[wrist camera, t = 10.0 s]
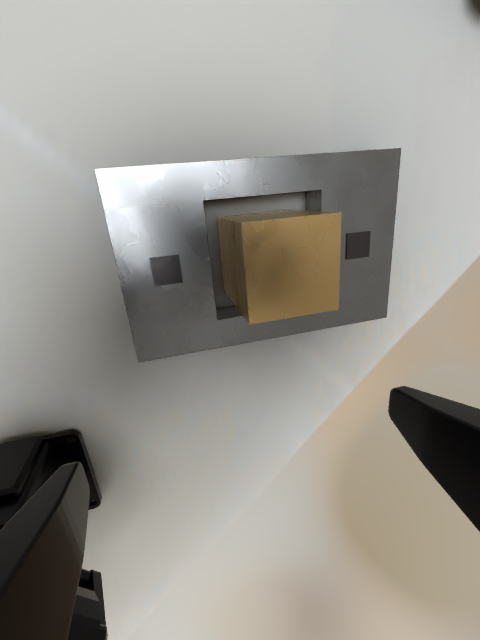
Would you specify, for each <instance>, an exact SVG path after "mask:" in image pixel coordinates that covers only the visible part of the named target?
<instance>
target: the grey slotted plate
mask: <svg viewBox="0 0 480 640" xmlns="http://www.w3.org/2000/svg"><path fill="white" fill-rule="evenodd" d="M400 156H401V148H397V149H382V150H367V151H352V152H337V153H322V154H308V155H293V156H278V157H263V158H248V159H234V160H219V161H204V162H189V163H174V164H159V165H145V166H130V167H115V168H100V169H95V172H96V177H97V181H98V186H99V190H100V194H101V199H102V203H103V208H104V212H105V217H106V221H107V225H108V230H109V234H110V239H111V243H112V247H113V252H114V256H115V261H116V265H117V270H118V274H119V278H120V283H121V287H122V292H123V296H124V301H125V305H126V309H127V314H128V318H129V323H130V327H131V332H132V336H133V340H134V345H135V349H136V354H137V358H138V362H144V361H149V360H155V359H160V358H166V357H171V356H177V355H182V354H188V353H193V352H199V351H204V350H210V349H215V348H221V347H226V346H232V345H237V344H243V343H248V342H254V341H259V340H265V339H270V338H276V337H281V336H287V335H292V334H298V333H303V332H309V331H314V330H320V329H325V328H331V327H336V326H342V325H347V324H353V323H358V322H364V321H369V320H375V319H380V318H386V317H387V305H388V294H389V282H390V271H391V259H392V248H393V236H394V225H395V213H396V202H397V190H398V179H399V167H400ZM301 191H306V211H327V212H342V216H341V250H340V284H339V310H333V311H327V312H322V313H316V314H310V315H304V316H298V317H292V318H286V319H280V320H274V321H268V322H263V323H257V324H251V325H249V323H248V322H247V321H246V319H245V318H244V317H243V315H242V314H241V313H240V312H239V310H238V309H237V308H236V306H233V307H226V308H220V309H216V306H215V298H214V289H213V281H212V273H211V264H210V256H209V247H208V239H207V230H206V222H205V214H204V205H203V200H213V199H224V198H235V197H246V196H257V195H268V194H279V193H290V192H301Z"/></svg>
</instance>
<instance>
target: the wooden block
mask: <svg viewBox="0 0 480 640" xmlns="http://www.w3.org/2000/svg"><path fill="white" fill-rule="evenodd" d="M341 216H342V212H327V211H303V210H284V211H275V212H265V213H255V214H245V215H235V216H225V217H217V223H218V232H219V242H220V252H221V261H222V271H223V280H224V290H225V293H226V294H227V296H228V297H229V298H230V300H231V301H232V302H233V304H234V305H235V306H236V308H237V309H238V310H239V312H240V313H241V314H242V315H243V317H244V318H245V319H246V321H247V322H248V323H249V325H251V324H257V323H263V322H268V321H274V320H280V319H286V318H292V317H298V316H304V315H310V314H316V313H322V312H327V311H333V310H339V284H340V250H341Z"/></svg>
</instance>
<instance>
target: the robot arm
mask: <svg viewBox="0 0 480 640" xmlns="http://www.w3.org/2000/svg"><path fill="white" fill-rule="evenodd" d="M388 412H389V416H390V418H391V420H392V421H393V423H394V424H395V425H396V427H397V428H398V430H399V431H400V432H401V434H402V435H403V437H404V438H405V440H406V441H407V443H408V444H409V445H410V447H411V448H412V450H413V451H414V453H415V454H416V456H417V457H418V458H419V460H420V461H421V462H422V463H423V465H424V466H425V467H426V468H427V470H428V471H429V472H430V473H431V474H432V476H433V477H434V478H435V479H436V480H437V482H438V483H439V484H440V485H441V486H442V487H443V489H444V490H445V491H446V492H447V493H448V495H449V496H450V497H451V498H452V499H453V501H454V502H455V503H456V504H457V505H458V507H459V508H460V509H461V510H462V511H463V512H464V514H465V515H466V516H467V517H468V518H469V520H470V521H471V522H472V523H473V524H474V526H475V527H476V528H477V529H478V530H479V531H480V409H478V408H474V407H471V406H468V405H465V404H462V403H458V402H455V401H452V400H449V399H445V398H442V397H439V396H436V395H432V394H429V393H426V392H423V391H419V390H416V389H413V388H410V387H406V386H401V387H397V388H393V389H392V390H391V392H390V399H389V409H388ZM70 437H73V438H75V439H74V440H71V439H69V438H70ZM92 500H95V501H92ZM100 503H101V494H100V491H99V488H98V485H97V482H96V479H95V476H94V473H93V470H92V466H91V463H90V460H89V457H88V454H87V451H86V448H85V445H84V442H83V439H82V436H81V434H80V432H78V431H76V430H69V431H65V432H60V433H55V434H51V435H46V436H41V437H33V438H28V439H23V440H18V441H14V442H9V443H4V444H0V640H107V636H108V634H107V627H106V621H105V610H104V600H103V589H102V579H101V573H100V572H97V571H94V570H90V571H87V570H84V569H82V563H83V557H84V549H85V539H86V528H87V518H88V510H90V509H94V508H96V507H98V506H99V505H100Z"/></svg>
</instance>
